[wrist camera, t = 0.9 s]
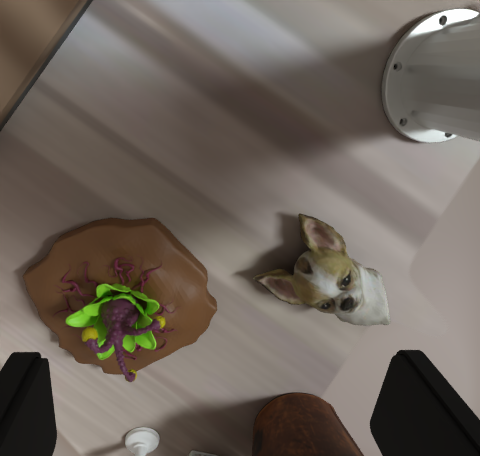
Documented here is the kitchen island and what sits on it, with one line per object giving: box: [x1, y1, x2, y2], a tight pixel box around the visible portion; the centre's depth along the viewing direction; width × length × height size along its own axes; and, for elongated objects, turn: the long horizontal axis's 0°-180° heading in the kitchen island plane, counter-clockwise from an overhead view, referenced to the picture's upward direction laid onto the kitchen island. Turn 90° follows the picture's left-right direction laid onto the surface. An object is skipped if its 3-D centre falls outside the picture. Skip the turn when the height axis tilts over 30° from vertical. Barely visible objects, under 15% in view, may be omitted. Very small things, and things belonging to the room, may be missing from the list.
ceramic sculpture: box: [253, 214, 390, 326], centre depth 42 cm, size 11×9×15 cm
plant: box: [23, 218, 217, 382], centre depth 39 cm, size 20×20×11 cm
